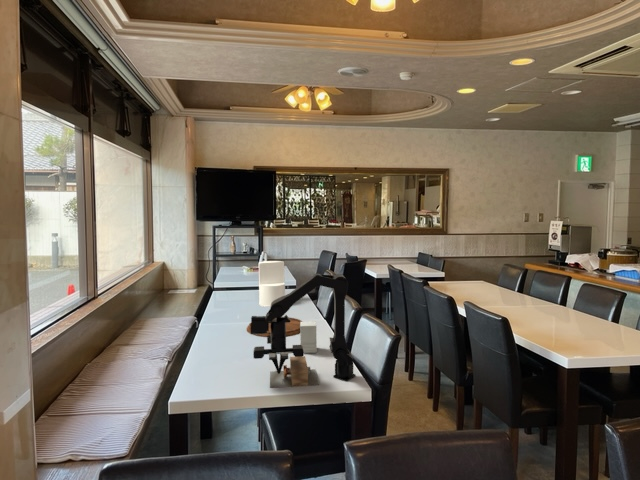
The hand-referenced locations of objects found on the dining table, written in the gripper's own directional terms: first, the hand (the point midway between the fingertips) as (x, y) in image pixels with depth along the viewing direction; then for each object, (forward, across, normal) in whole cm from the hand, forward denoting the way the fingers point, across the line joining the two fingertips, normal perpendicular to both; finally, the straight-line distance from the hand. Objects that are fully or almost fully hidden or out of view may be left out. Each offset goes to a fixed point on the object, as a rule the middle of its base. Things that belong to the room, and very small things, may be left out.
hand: (278, 373), depth 160 cm
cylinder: (+3, +2, -123) cm, 123 cm away
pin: (+2, -7, 0) cm, 7 cm away
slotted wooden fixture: (+2, -6, 0) cm, 6 cm away
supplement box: (+3, -14, -30) cm, 34 cm away
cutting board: (+3, 0, -67) cm, 67 cm away
